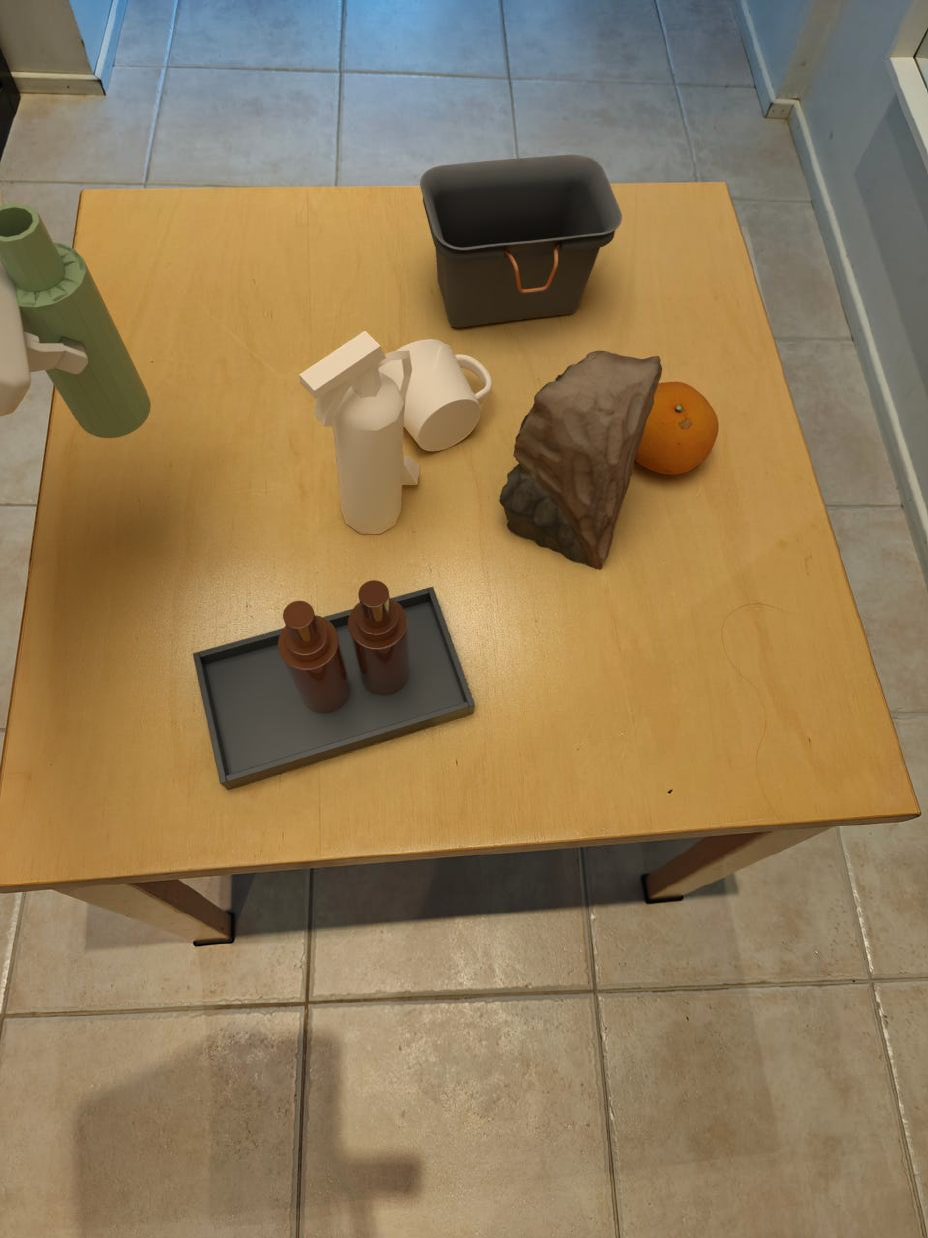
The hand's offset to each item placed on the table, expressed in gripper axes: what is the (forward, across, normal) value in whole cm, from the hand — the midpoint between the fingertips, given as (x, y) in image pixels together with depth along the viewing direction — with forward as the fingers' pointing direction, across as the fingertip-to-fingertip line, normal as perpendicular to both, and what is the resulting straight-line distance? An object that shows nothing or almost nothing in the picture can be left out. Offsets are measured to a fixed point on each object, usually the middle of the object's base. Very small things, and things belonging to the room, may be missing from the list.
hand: (76, 322), depth 57 cm
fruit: (+58, -6, -17) cm, 61 cm away
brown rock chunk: (+49, -12, -7) cm, 50 cm away
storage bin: (+52, +20, -11) cm, 57 cm away
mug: (+42, +7, -1) cm, 43 cm away
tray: (+28, -22, +14) cm, 38 cm away
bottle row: (+29, -22, +12) cm, 38 cm away
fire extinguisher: (+35, -3, +6) cm, 36 cm away
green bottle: (+6, 0, +7) cm, 9 cm away
